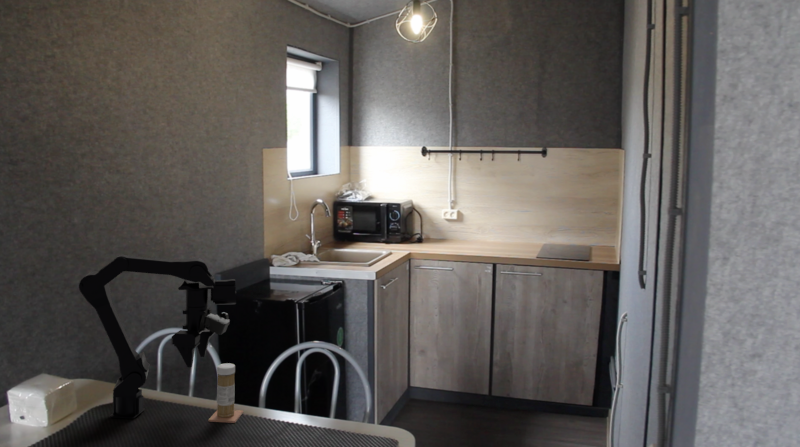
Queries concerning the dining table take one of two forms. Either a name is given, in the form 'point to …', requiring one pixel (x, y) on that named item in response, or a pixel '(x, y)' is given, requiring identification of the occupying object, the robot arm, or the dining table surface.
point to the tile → (229, 419)
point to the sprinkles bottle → (225, 390)
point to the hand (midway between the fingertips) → (196, 361)
